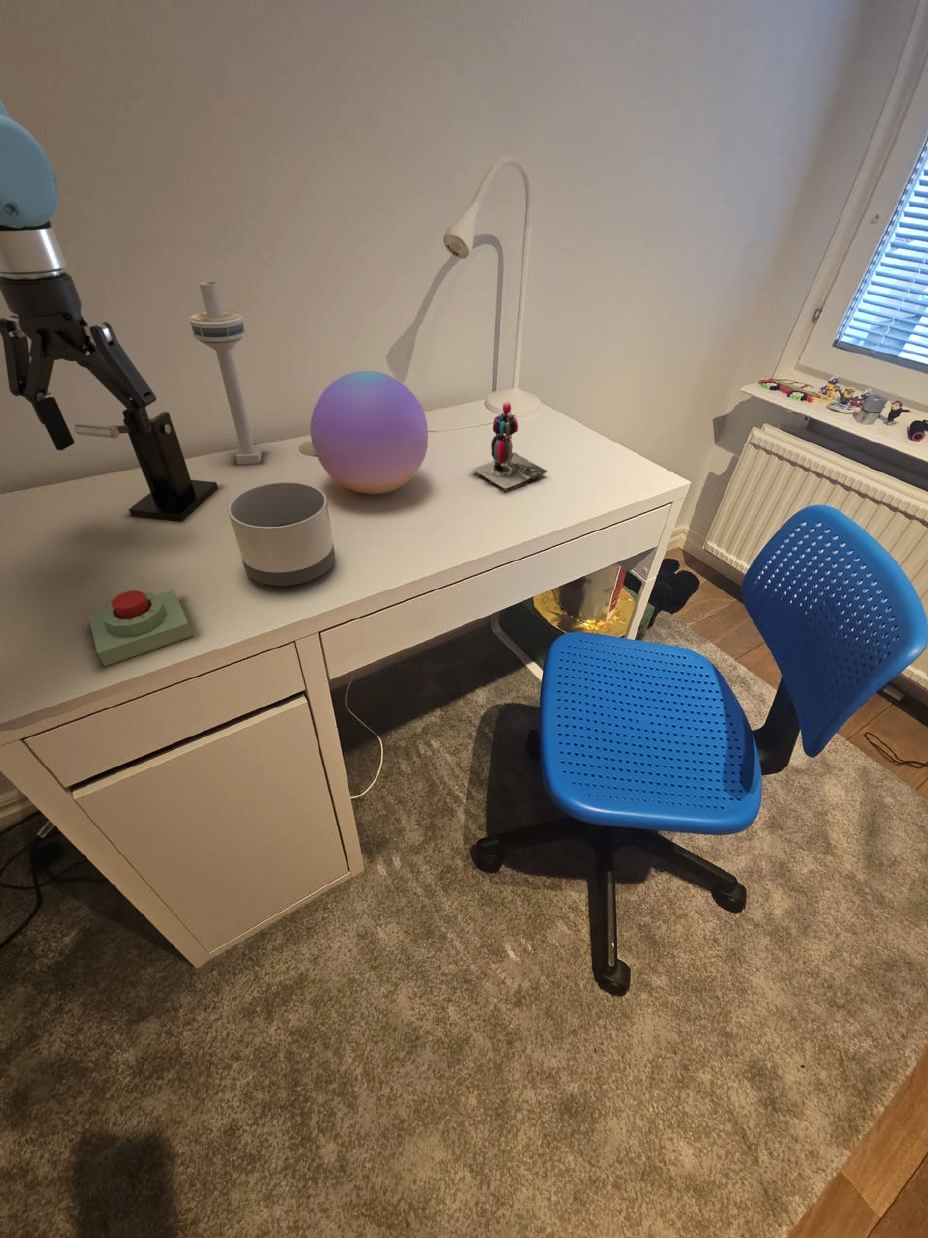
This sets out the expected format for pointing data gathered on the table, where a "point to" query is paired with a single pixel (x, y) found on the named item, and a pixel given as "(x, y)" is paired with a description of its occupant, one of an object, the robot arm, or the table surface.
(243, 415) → the model tower
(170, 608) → the button base
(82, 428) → the lever
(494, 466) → the statue
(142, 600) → the button
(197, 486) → the bracket
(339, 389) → the ball
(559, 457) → the table surface
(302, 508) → the planter
